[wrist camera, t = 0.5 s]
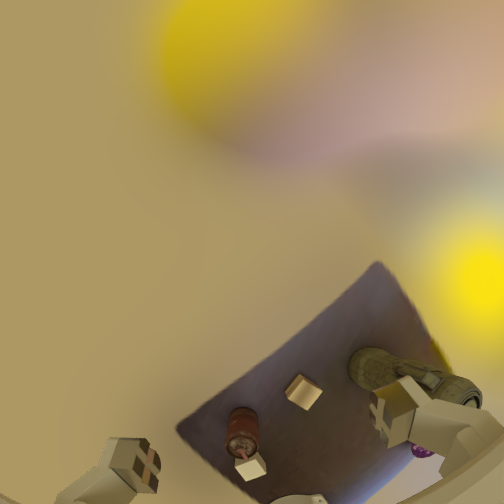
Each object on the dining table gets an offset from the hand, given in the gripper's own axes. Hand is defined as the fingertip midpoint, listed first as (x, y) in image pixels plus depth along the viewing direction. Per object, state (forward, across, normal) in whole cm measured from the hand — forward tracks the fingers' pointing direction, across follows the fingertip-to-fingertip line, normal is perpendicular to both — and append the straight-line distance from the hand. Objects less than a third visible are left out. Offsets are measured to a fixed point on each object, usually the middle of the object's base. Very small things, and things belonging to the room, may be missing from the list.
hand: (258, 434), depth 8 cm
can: (+37, -8, -38) cm, 54 cm away
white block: (+33, -9, -49) cm, 59 cm away
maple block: (+39, +6, -35) cm, 53 cm away
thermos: (+40, +21, -35) cm, 57 cm away
